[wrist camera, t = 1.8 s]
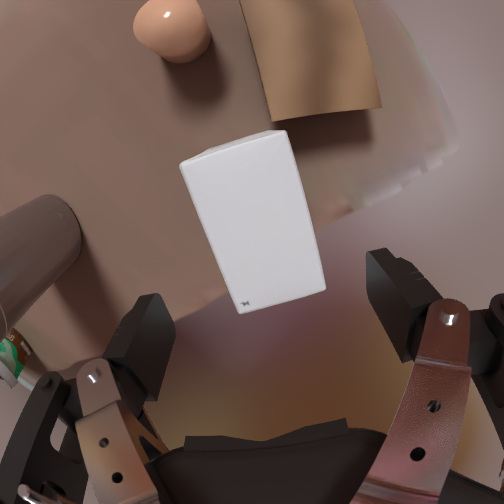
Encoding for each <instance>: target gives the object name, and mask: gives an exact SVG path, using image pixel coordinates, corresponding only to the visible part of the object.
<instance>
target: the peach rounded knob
mask: <svg viewBox="0 0 504 504" xmlns="http://www.w3.org/2000/svg"><path fill="white" fill-rule="evenodd" d="M133 30H134V34H135V36H136V38H137V39H138V40H139V41H140V42H141V43H143V44H144V45H146V46H147V47H148V48H150V49H151V50H153V51H154V52H156V53H157V54H158V55H160V56H161V57H163V58H164V59H165V60H167V61H169V62H172V63H187V62H190V61H193V60H195V59H197V58H198V57H200V56H201V55H202V54H203V53H204V52H205V51H206V50H207V48H208V46H209V44H210V41H211V32H210V29H209V27H208V25H207V22H206V20H205V18H204V16H203V13H202V11H201V9H200V7H199V4H198V3H197V1H196V0H150V1H148V2H147V3H146V4H145V5H144V6H143V7H142V8H141V9H140V10H139V12H138V13H137V15H136V17H135V20H134V24H133Z"/></svg>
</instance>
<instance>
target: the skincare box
mask: <svg viewBox="0 0 504 504" xmlns="http://www.w3.org/2000/svg"><path fill="white" fill-rule="evenodd" d="M179 168H180V171H181V173H182V175H183V178H184V180H185V183H186V185H187V188H188V190H189V193H190V195H191V198H192V200H193V203H194V206H195V208H196V211H197V213H198V216H199V218H200V221H201V223H202V226H203V228H204V231H205V233H206V236H207V238H208V241H209V243H210V246H211V248H212V251H213V253H214V256H215V258H216V260H217V263H218V265H219V268H220V270H221V273H222V275H223V278H224V280H225V283H226V285H227V287H228V290H229V292H230V295H231V297H232V299H233V302H234V304H235V307H236V309H237V311H238V313H239V314H243V313H247V312H251V311H255V310H259V309H263V308H266V307H270V306H273V305H277V304H280V303H284V302H287V301H291V300H295V299H299V298H302V297H306V296H309V295H312V294H315V293H318V292H321V291H323V290H325V289H326V285H325V280H324V274H323V269H322V265H321V260H320V256H319V251H318V247H317V242H316V238H315V234H314V230H313V225H312V221H311V217H310V213H309V209H308V205H307V201H306V198H305V194H304V190H303V186H302V183H301V179H300V175H299V172H298V168H297V165H296V161H295V158H294V154H293V151H292V148H291V144H290V141H289V138H288V135H287V132H286V131H285V130H276V131H272V130H268V131H264V132H261V133H257V134H254V135H251V136H247V137H244V138H241V139H238V140H235V141H232V142H228V143H225V144H222V145H219V146H216V147H213V148H209V149H207V150H206V151H205V152H202V153H201V154H199V155H197V156H195V157H193V158H191V159H188V160H186V161H183V162H182V163H181V164H180V165H179Z"/></svg>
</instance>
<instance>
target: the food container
mask: <svg viewBox="0 0 504 504" xmlns="http://www.w3.org/2000/svg"><path fill="white" fill-rule="evenodd" d="M31 352H32V349H31V347H30V345H29V344H28V343H27V341H26V340H25V339H24V337H23V336H22V335H21V334H20V333H19V332H18V331H17V330H15V329H14V328H12V329H11V330H10V332H9V333H8V334H7V335H6V337H5V338H4V339H3V341H2V342H1V343H0V379H3V380H5V381H6V383H7V384H8V385H9V386H10V388H11V389H12V388H13V387H15V386H16V384H17V383H18V381H17V378H18V376H19V374H20V372H21V370H22V369H23V367H24V365H25V363H26V361H27V359H28V358H29V356H30V354H31Z"/></svg>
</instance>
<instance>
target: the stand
mask: <svg viewBox="0 0 504 504" xmlns="http://www.w3.org/2000/svg"><path fill="white" fill-rule="evenodd" d="M239 3H240V6H241V9H242V12H243V16H244V19H245V23H246V26H247V30H248V33H249V37H250V40H251V44H252V47H253V51H254V55H255V58H256V62H257V66H258V70H259V74H260V78H261V81H262V85H263V89H264V93H265V97H266V102H267V106H268V110H269V114H270V118H271V122H273V121H279V120H284V119H290V118H296V117H302V116H309V115H316V114H323V113H331V112H340V111H350V110H361V109H375V108H382V104H381V99H380V94H379V89H378V85H377V80H376V76H375V72H374V68H373V64H372V60H371V56H370V53H369V49H368V46H367V42H366V39H365V36H364V32H363V29H362V26H361V23H360V20H359V17H358V14H357V12H356V9H355V6H354V3H353V1H352V0H239Z"/></svg>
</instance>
